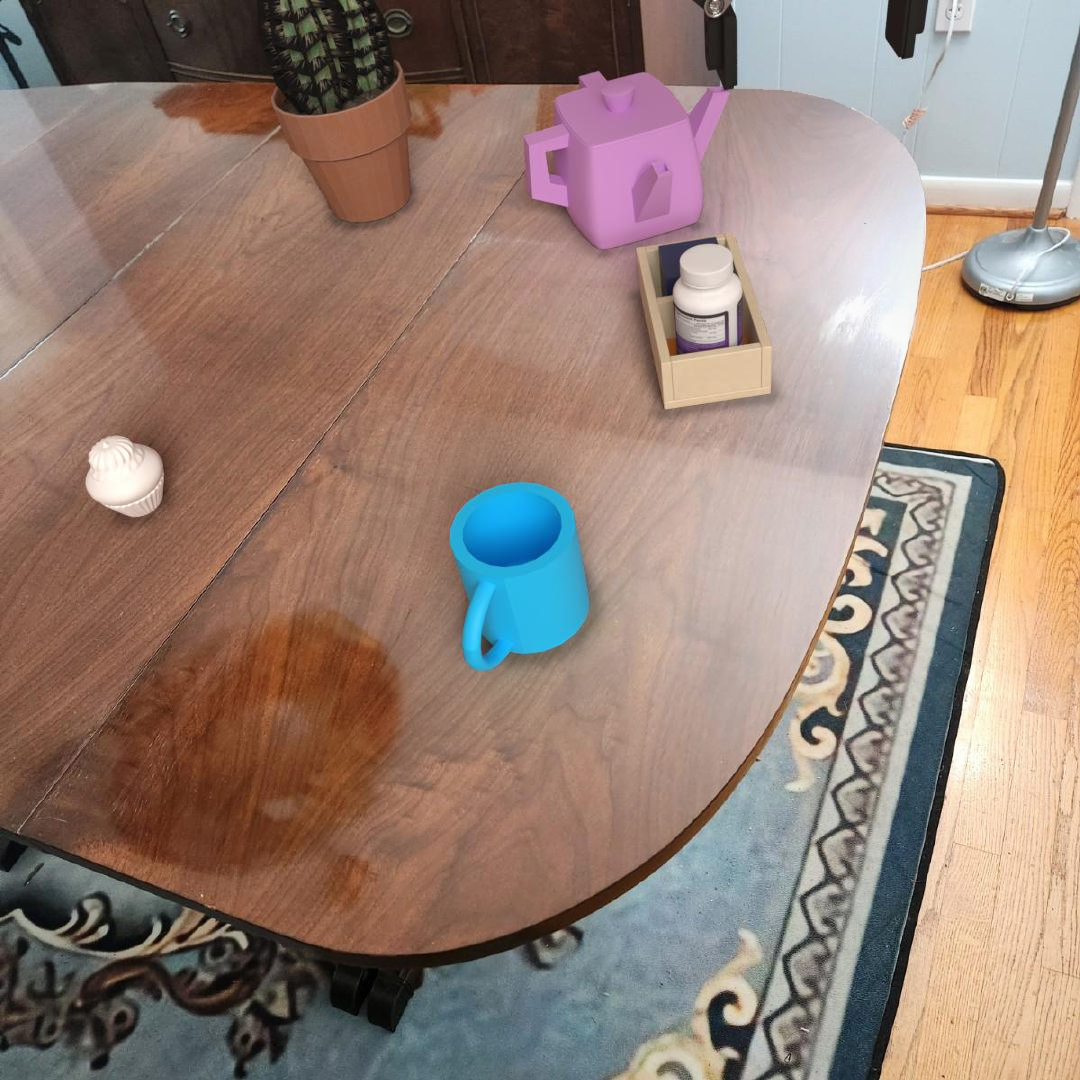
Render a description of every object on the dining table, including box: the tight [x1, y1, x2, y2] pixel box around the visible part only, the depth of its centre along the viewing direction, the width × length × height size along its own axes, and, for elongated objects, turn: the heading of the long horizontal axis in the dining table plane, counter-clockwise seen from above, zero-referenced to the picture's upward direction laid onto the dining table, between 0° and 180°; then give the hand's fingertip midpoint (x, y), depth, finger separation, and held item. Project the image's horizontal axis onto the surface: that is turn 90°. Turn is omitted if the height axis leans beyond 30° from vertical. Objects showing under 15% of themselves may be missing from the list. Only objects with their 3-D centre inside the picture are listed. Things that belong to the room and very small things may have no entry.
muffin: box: [85, 434, 165, 518], centre depth 81 cm, size 6×6×7 cm
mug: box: [449, 481, 591, 672], centre depth 66 cm, size 12×8×8 cm
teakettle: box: [522, 70, 731, 251], centre depth 98 cm, size 17×17×12 cm
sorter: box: [635, 231, 773, 411], centre depth 85 cm, size 9×16×5 cm, turn 3°
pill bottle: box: [673, 244, 743, 355], centre depth 80 cm, size 5×5×10 cm
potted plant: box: [256, 0, 413, 224], centre depth 102 cm, size 14×14×25 cm
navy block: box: [658, 237, 719, 297], centre depth 87 cm, size 5×5×5 cm
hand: (811, 64), depth 57 cm, fingers open, 9 cm apart
